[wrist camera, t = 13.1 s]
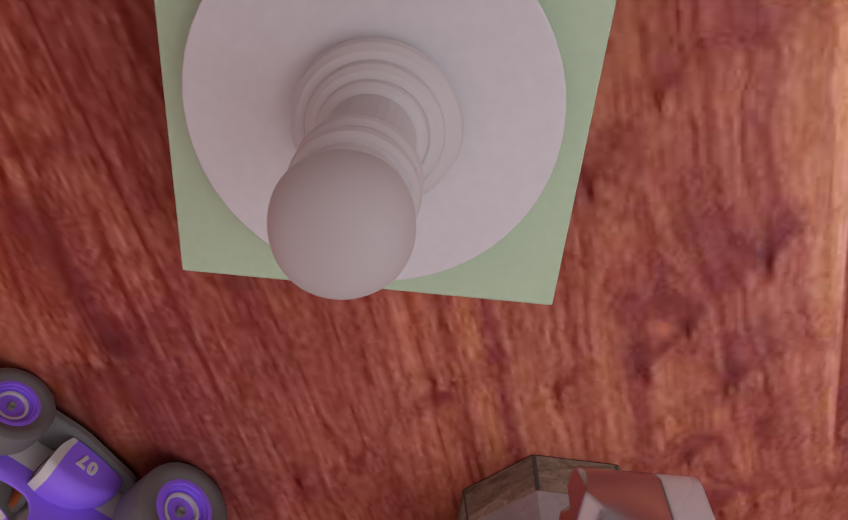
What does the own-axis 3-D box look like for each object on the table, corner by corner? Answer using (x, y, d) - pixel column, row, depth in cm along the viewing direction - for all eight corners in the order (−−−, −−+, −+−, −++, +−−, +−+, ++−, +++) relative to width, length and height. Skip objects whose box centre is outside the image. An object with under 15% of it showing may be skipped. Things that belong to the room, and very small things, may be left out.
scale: (164, -200, 21) (114, -211, 18) (630, -155, 21) (659, -158, 18) (202, 239, 28) (171, 285, 25) (545, 271, 28) (555, 321, 25)
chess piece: (278, 41, 21) (167, 151, 13) (457, 25, 20) (455, 130, 12) (309, 203, 23) (234, 376, 16) (469, 193, 23) (472, 365, 15)
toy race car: (-26, 315, 31) (-134, 418, 25) (240, 493, 36) (199, 612, 30) (-118, 423, 34) (-230, 534, 29) (136, 571, 39) (82, 690, 34)
